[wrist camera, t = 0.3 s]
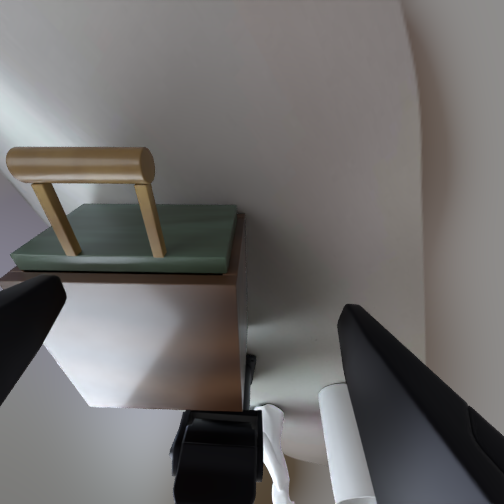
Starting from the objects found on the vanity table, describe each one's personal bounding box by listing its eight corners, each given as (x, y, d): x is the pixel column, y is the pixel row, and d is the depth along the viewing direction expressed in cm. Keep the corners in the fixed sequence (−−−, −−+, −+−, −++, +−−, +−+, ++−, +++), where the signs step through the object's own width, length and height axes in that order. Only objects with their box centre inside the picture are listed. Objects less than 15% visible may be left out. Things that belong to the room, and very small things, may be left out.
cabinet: (88, 211, 22) (-5, 281, 14) (245, 213, 22) (236, 285, 14) (133, 324, 30) (89, 407, 23) (247, 327, 30) (242, 412, 22)
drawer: (51, 124, 18) (-78, 151, 11) (233, 124, 17) (215, 151, 10) (129, 317, 28) (88, 389, 22) (241, 319, 28) (235, 394, 21)
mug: (319, 407, 40) (338, 514, 30) (312, 385, 37) (331, 498, 27) (386, 399, 38) (430, 511, 28) (385, 375, 35) (435, 493, 25)
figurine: (288, 421, 43) (296, 523, 33) (242, 422, 44) (236, 522, 34) (286, 399, 39) (294, 507, 29) (235, 400, 40) (226, 506, 30)
